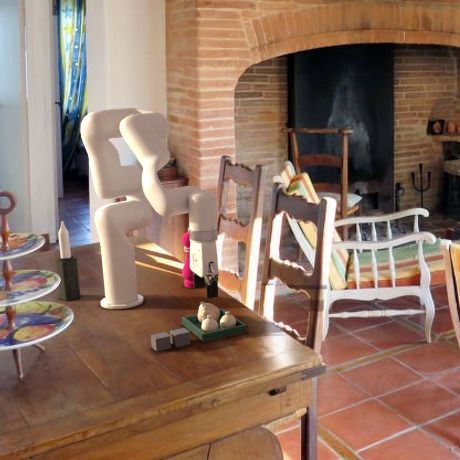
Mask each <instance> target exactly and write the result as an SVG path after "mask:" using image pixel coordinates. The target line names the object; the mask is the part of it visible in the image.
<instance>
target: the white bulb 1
mask: <svg viewBox="0 0 460 460" xmlns="http://www.w3.org/2000/svg"><path fill="white" fill-rule="evenodd" d="M217 328H218V323H217V322H216V320H214V319H212V318H211V315H208V316H207V319H206V320H204V321H203V323H202V330H203V332H205V333H207V332H212V331H216V330H217Z"/></svg>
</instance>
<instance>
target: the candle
mask: <svg viewBox="0 0 460 460" xmlns="http://www.w3.org/2000/svg"><path fill="white" fill-rule="evenodd" d="M59 228H60V229H59V230H58V234H57V235H58V244H59V250H60V251H59V252H60V256H58V257H57V258H56V259H55V267H56V275H57V274H58V275H59V276H60V278H61V282H60V284H59V286H58V285H57V286H58V287H57V288H58V295H59V296H58V297H59V299H60V300H63V301H66V302H69V301H72V300H75V299H80V298H81V286H80V276H79V268H78V259H77V258H76V257H75V255H73V254H72V253H71V251H72V250H71V243H70V233H69V230H68V229H67V228H66V225H65V221H64V220H61V222H60V227H59Z"/></svg>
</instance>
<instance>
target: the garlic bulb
mask: <svg viewBox="0 0 460 460" xmlns="http://www.w3.org/2000/svg"><path fill="white" fill-rule="evenodd" d="M219 310H220V309H219V307H217V305H214V304H213V303H210V302H209V303H207V302H205V301H203V300H201V301H200V303H199V307H198V312H197V314H198V319H199V321H200V322H201V323H203V321H204V320H206V319H207V316H208V315H211V318H212V319H214V320H216V322H217V320H218V318H219V316H220V311H219Z"/></svg>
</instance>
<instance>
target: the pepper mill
mask: <svg viewBox="0 0 460 460" xmlns="http://www.w3.org/2000/svg"><path fill="white" fill-rule="evenodd" d="M181 243H182V244H183V245H184V246H183V251H184V252H185V261H184V264H183V267H182V271H181V274H182V277H183V278H184V281H183V282H184V283H183V284H184V288H188V289H195V288H194V281H193V271H192V270H191V269H190V243H191V241H190V227H188V228H187V232H185V233H184V234H183V235H182V236H181Z"/></svg>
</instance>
